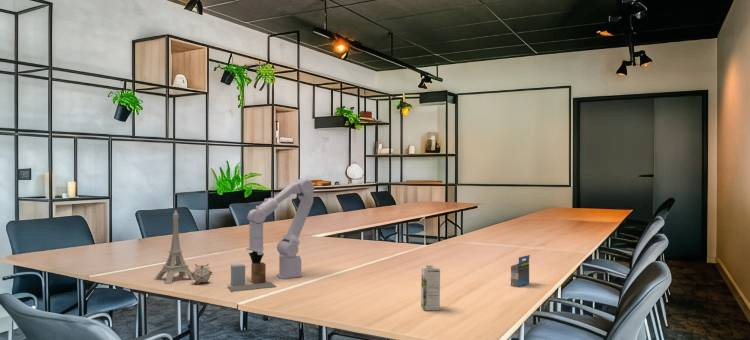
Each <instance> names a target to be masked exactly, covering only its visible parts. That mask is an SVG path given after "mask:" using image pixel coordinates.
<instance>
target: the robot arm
mask: <svg viewBox="0 0 750 340" xmlns="http://www.w3.org/2000/svg"><path fill="white" fill-rule="evenodd" d="M314 191H315V186H314V184H313V182H312V181H311V180H310V179H306V178H305V179H302V178H301V179H300V178H296V179H294V180H293V181H291V182H290V183H288V185H287V186H286V187H284V188H283V189H282V190H281V191H279V192H278V193H277V194H276V195H275V196H274V197H268V198H264V200H263V202H262V203H260V204H259V205H256V206H255V209H251V210H249V212H248V214H247V216H246V219H247V221H249V234H248V235H249V237H248V240H249V241H248V242H249V243H248V244H249V247H247V248H246V250H247V251H251V252H248V256H250V259H251V260H250V261H251V263H262V259H263V257H264V255H265V253H264V222H265V221H266V218H267V217H268V216H269V215H271V214H272V213H273V212H274V211H276V210H277V209H278V206H279V204H280V203H281V202H283V201H285V200H287V199H288V198H289V197H290V196H291V195H297V197H298V198H299V201H300V202H299V204H298V207H297V210H296V212H295V214H294V215H293V219H292V221H291V223H290V225H289V228H288V231H287V233H286V234H285V235H283V236H282V239H281V240H280V241H279V242H278V243H277V246H276V250H277V252H278V253H279V256H278V257H279V258H278V259H279V260H278V261H279V262H278V264H279V265H278V266H279V267H278V268H279V269H278V270H279V272H278V273H277V274H276V277H278V278H280V279H282V280H283V279H291V278H301V277H302V276H303V275H302V257H301V256H300V255H297V254H298V252H299V246H300V245H299V244H301V243H300V240H299V237H300V235H301V232H302V230H303V227H304V225H305V223H306V220H307V218H308V216H309V213H310V210H311V208H312V205H313V204H314Z"/></svg>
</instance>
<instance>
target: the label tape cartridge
mask: <svg viewBox="0 0 750 340" xmlns="http://www.w3.org/2000/svg"><path fill="white" fill-rule="evenodd" d="M529 284H530V254H527V255H524V256H519V257H518V263H515V264H513V265H511V266H510V287H514V288H520V287H523V286H527V285H529Z"/></svg>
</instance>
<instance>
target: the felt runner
mask: <svg viewBox="0 0 750 340" xmlns="http://www.w3.org/2000/svg"><path fill="white" fill-rule="evenodd" d="M226 287H227V289H228V290H229V292H240V291H251V290H261V289H268V288H270V289H271V288H277V286H276V285H275V284H274V283H273V282H266V283H258V284H253V283H249V284H245V285H238V286H232V285H231V286H230V285H229V286H226Z"/></svg>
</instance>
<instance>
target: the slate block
mask: <svg viewBox="0 0 750 340" xmlns="http://www.w3.org/2000/svg"><path fill="white" fill-rule="evenodd" d="M230 285H231V286H238V285H246V265H245V264H244V263H242V264H241V263H239V264H230Z"/></svg>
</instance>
